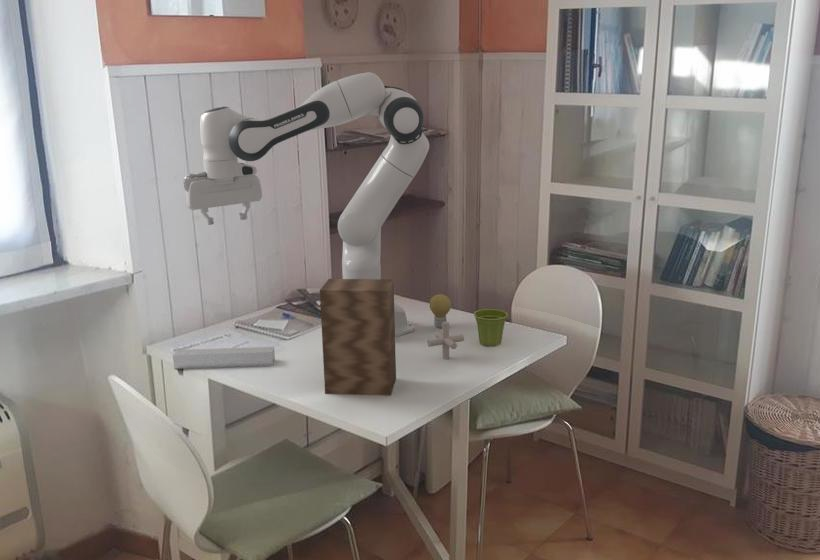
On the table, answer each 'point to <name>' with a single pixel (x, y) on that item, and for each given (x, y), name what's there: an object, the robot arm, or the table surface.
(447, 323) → the pipe connector
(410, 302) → the table surface
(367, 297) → the walnut stand
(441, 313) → the light bulb
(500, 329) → the plant pot
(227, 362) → the aluminium bar
